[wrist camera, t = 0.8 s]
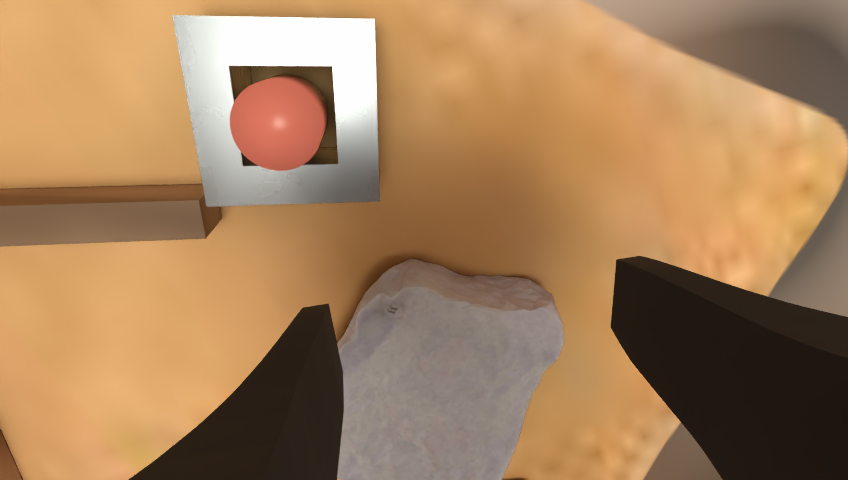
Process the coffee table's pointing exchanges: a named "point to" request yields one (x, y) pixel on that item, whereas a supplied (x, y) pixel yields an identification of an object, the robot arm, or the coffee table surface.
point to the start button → (279, 122)
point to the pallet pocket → (100, 226)
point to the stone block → (442, 373)
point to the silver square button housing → (230, 74)
